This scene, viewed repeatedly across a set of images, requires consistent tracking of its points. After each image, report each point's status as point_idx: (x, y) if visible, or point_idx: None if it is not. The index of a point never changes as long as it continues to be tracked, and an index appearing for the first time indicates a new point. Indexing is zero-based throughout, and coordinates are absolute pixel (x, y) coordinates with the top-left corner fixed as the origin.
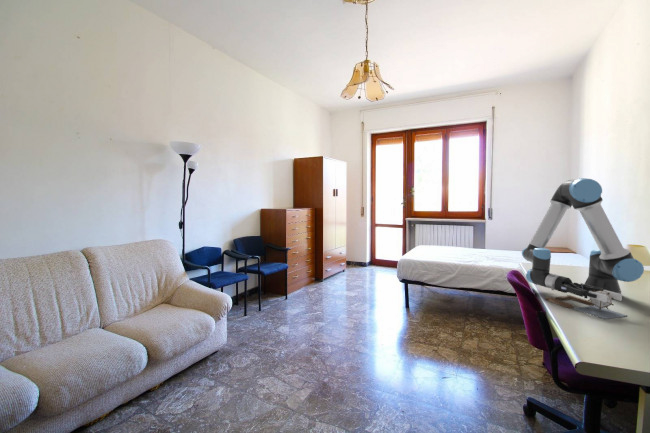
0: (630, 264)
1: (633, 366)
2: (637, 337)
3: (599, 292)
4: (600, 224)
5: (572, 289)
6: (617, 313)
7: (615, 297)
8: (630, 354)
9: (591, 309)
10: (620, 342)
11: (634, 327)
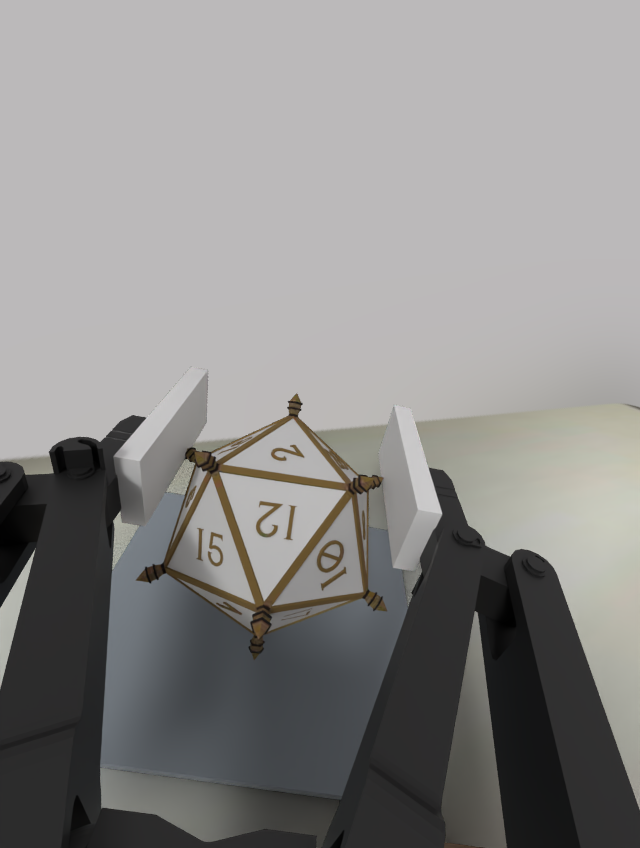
0: None
1: (632, 412)
2: (456, 429)
3: (331, 458)
4: None
5: (597, 747)
6: (171, 529)
7: (193, 428)
8: (594, 421)
9: (266, 674)
10: (563, 442)
11: (352, 447)
